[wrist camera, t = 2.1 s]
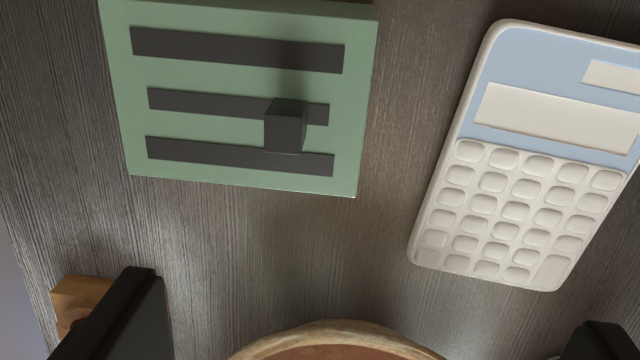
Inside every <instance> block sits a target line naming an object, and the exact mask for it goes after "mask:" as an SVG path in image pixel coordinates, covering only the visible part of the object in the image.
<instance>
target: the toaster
mask: <svg viewBox="0 0 640 360" xmlns="http://www.w3.org/2000/svg"><path fill="white" fill-rule="evenodd" d="M98 6H99V11H100V17H101V23H102V29H103V34H104V40H105V46H106V51H107V57H108V63H109V69H110V74H111V80H112V86H113V91H114V97H115V103H116V109H117V114H118V120H119V126H120V131H121V137H122V143H123V149H124V154H125V160H126V166H127V171H128V174H131V175H141V176H150V177H160V178H169V179H179V180H189V181H198V182H208V183H218V184H227V185H237V186H246V187H256V188H266V189H275V190H285V191H295V192H304V193H314V194H323V195H333V196H343V197H352V198H355V197H356V193H357V185H358V178H359V170H360V162H361V154H362V147H363V139H364V131H365V124H366V116H367V108H368V101H369V93H370V85H371V77H372V70H373V62H374V54H375V47H376V39H377V31H378V24H379V21H378V18H377V14H376V11H375V8H374V5H373V4H362V3H350V2H338V1H326V0H98ZM274 97H277V98H288V99H299V100H307V101H308V116H307V133H306V138H305V141H304V145H303V148H302V151H301V154H300V156H297V155H287V154H277V153H267V152H264V113H265V111H266V110H267V108H268V107H269V105H270V103H271V102H272V100H273V99H274Z"/></svg>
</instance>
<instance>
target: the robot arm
mask: <svg viewBox="0 0 640 360" xmlns="http://www.w3.org/2000/svg"><path fill="white" fill-rule="evenodd" d="M173 358H174V352H173V345H172V338H171V331H170V324H169V317H168V310H167V303H166V297H165V290H164V283H163V278H162V277H161V276H157V274H156V271H155V270H154V269H150V268H142V267H133V266H128V267H126V268H125V269H124V270H123V271H122V272H121V274H120V275H119V276H118V278H117V279H116V280H115V282H114V283H113V284H112V285H111V287H110V288H109V289H108V291H107V292H106V293H105V295H104V296H103V297H102V298H101V300H100V301H99V302H98V304H97V305H96V306H95V308H94V309H93V310H92V312H91V313H90V314H89V315H88V317H87V318H86V319H85V321H81V322H79V323H77V324H76V325H75V326H74V327H73V328H72V329H71V330H70V331H69V332H68V333H67V335H66V336H65V337H64V338H63V340H62V341H61V342H60V343H59V345H58V346H57V347H56V349H55V350H54V351H53V352H52V354H51V355H50V356H49V357H48V359H47V360H173ZM559 360H640V351H639V350H638V348H637V347H636V346H635V344H634V343H633V341H632V340H631V339H630V337H629V336H628V334H627V333H626V331H625V330H624V329H623V328H622V327H621V326H620V325H618V324H617V323H609V322H600V321H592V320H587V321H585V322H584V323H583V324H582V326H578V327H576V328H575V330H574V331H573V333H572V335H571V337H570V339H569V341H568V343H567V345H566V347H565V349H564V351H563V352H562V354H561V356H560V358H559Z"/></svg>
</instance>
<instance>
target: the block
mask: <svg viewBox="0 0 640 360" xmlns="http://www.w3.org/2000/svg"><path fill="white" fill-rule="evenodd" d="M114 282H115V280H114V279H106V278H99V277H91V276H84V275H76V274H68V273H67V274H66V275H65V276H64V278H63V279H62V280H61V281H60V282H59V283H58V284H57V285H56V286H55V287H54V288H53V289H52V290H51V292H50V296H51V299H52V302H53V306H54V309H55V312H56V316H57V319H58V321H57V323H56V327H57V330H58V333H59V337H60V339H61V341H62V340H63V338H64V337H65V336H66V335H67V333H68V332H69V331H70V330H71V329H72V328H73V326H74V325H75V324H76V323H77V322H78V321H79V320H81V319H83V318H87V317H88V315H89V314H90V313H91V312H92V310H93V309H94V308H95V306H96V305H97V304H98V302H99V301H100V300H101V298H102V297H103V296H104V295H105V293H106V292H107V291H108V289H109V288H110V287H111V285H112V284H113V283H114ZM164 290H165V297H166V303H167V310H168V317H169V324H170V316H169V308H168V299H167V291H166V286H164ZM170 331H171V325H170ZM171 338H172V333H171ZM172 345H173V342H172ZM173 352H174V350H173ZM173 360H175V359H174V358H173Z"/></svg>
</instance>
